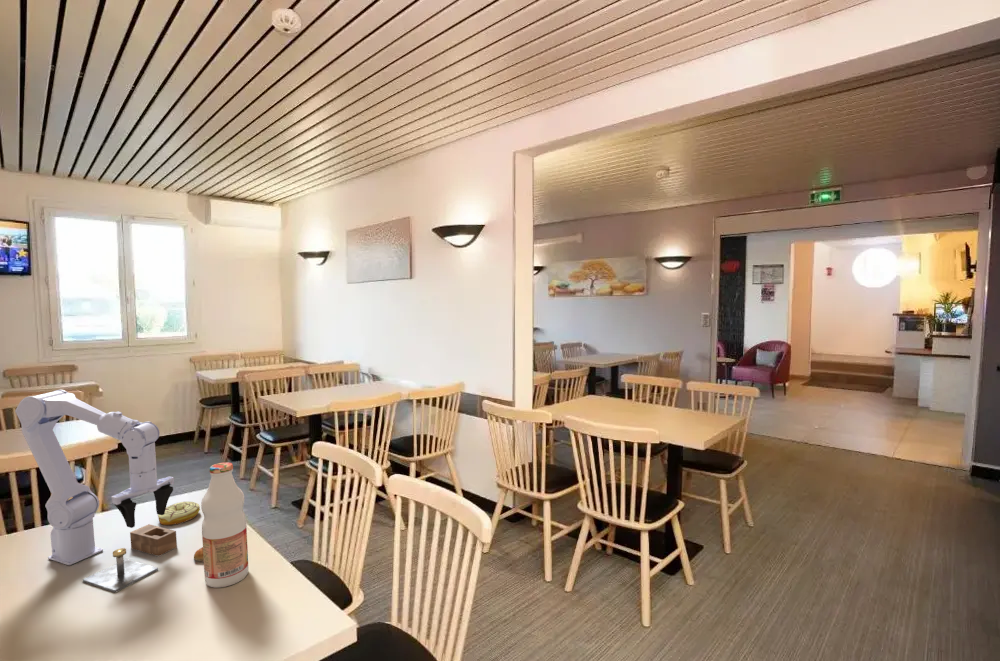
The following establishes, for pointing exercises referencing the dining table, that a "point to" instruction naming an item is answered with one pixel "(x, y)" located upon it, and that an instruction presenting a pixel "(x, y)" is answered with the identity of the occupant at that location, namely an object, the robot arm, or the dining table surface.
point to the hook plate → (120, 573)
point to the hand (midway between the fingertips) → (146, 520)
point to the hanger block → (153, 540)
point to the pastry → (199, 555)
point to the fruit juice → (224, 529)
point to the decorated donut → (179, 513)
